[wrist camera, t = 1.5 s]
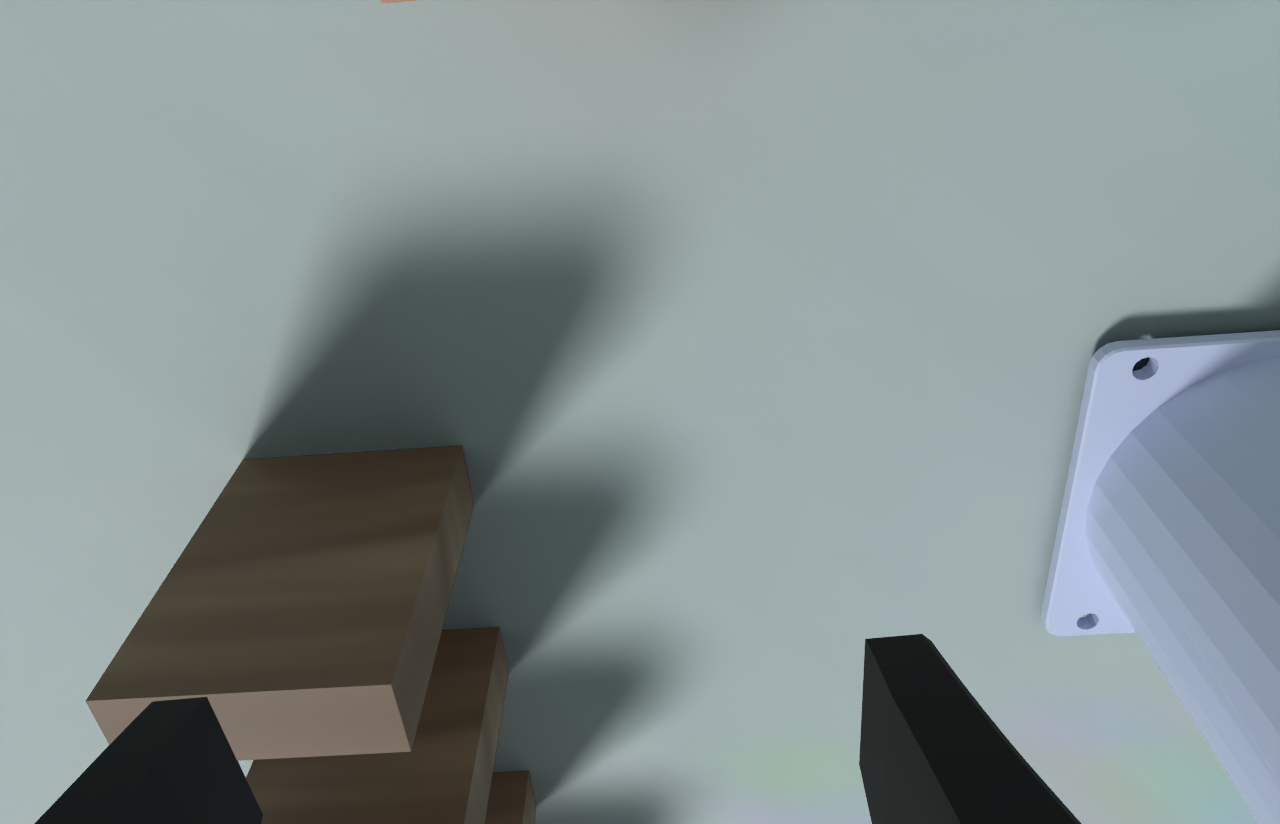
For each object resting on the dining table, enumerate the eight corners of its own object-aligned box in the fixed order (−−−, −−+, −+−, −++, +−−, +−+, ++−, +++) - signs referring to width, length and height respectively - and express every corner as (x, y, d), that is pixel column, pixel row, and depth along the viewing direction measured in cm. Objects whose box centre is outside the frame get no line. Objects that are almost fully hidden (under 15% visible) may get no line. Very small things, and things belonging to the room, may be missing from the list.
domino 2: (305, 638, 24) (193, 901, 18) (499, 627, 24) (452, 888, 18) (320, 682, 25) (219, 948, 19) (508, 672, 25) (466, 937, 19)
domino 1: (243, 459, 21) (85, 700, 15) (462, 445, 21) (390, 684, 15) (263, 516, 22) (121, 766, 16) (473, 503, 22) (411, 751, 16)
